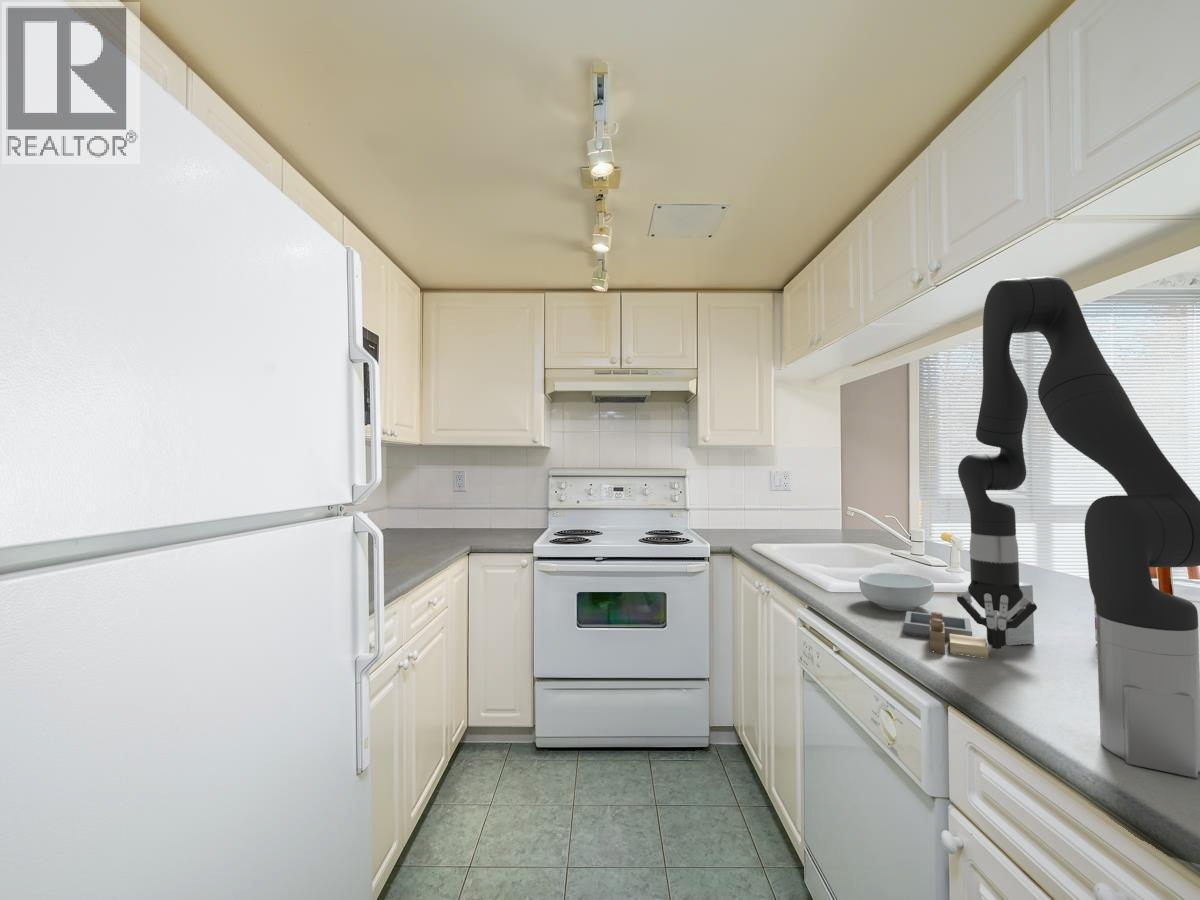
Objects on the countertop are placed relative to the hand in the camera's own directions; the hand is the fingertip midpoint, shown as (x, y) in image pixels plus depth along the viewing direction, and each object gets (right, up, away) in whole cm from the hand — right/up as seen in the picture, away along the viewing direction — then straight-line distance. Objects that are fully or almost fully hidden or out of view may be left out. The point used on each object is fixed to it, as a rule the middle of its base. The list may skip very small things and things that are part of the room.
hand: (996, 647), depth 103 cm
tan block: (-4, -2, +2) cm, 5 cm away
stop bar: (-8, -2, +5) cm, 10 cm away
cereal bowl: (-1, -2, +34) cm, 34 cm away
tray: (-3, -2, +14) cm, 14 cm away
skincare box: (+8, -2, +7) cm, 11 cm away
